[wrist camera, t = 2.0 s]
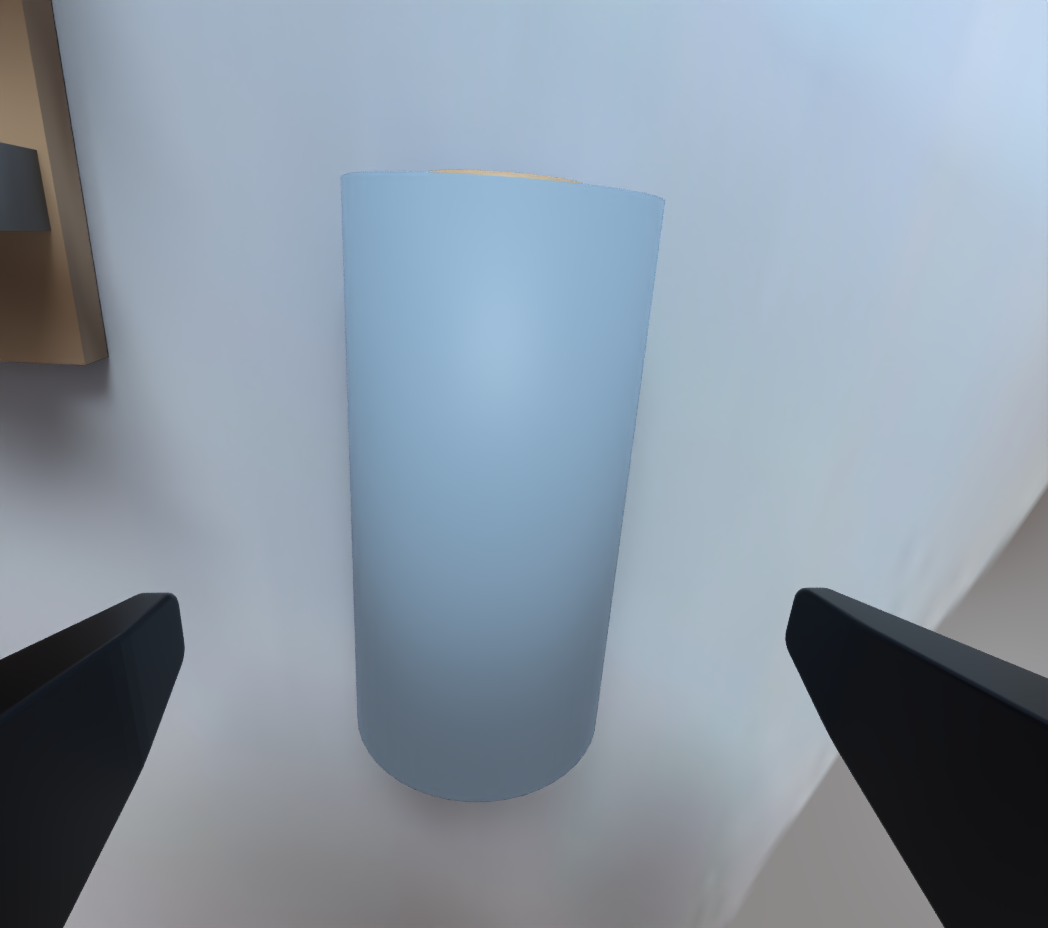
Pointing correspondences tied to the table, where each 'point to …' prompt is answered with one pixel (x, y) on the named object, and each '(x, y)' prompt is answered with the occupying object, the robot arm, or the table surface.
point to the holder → (41, 203)
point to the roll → (488, 463)
